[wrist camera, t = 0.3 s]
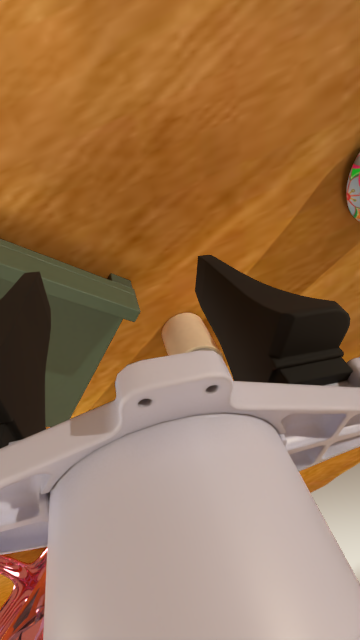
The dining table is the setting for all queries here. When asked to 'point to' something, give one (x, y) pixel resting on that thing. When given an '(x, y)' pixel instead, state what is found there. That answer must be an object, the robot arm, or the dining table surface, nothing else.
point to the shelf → (71, 321)
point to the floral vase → (354, 189)
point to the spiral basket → (24, 599)
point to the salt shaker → (187, 335)
